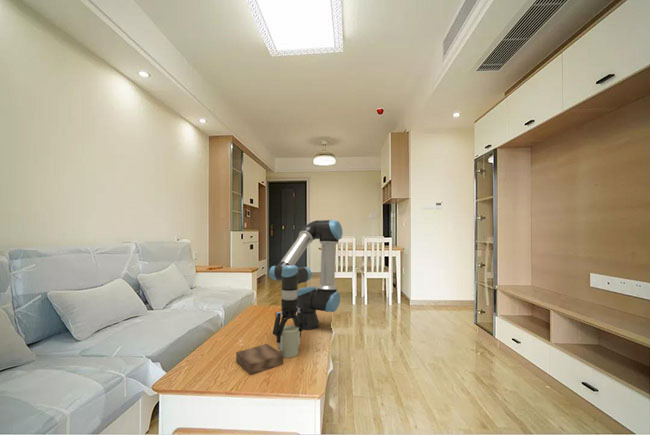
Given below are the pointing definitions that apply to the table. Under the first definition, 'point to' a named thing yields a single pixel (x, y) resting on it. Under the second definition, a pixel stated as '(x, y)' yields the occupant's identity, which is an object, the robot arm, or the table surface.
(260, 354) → the brown flat square block
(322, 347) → the table surface
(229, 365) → the table surface
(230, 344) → the table surface
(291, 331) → the can
